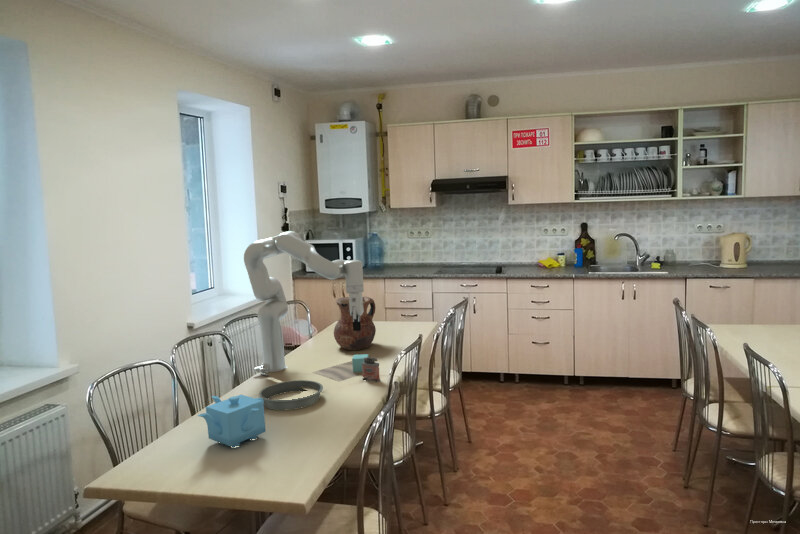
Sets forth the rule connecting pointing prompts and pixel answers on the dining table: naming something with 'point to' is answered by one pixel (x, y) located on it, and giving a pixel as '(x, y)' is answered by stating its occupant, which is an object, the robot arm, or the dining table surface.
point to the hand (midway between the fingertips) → (357, 330)
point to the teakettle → (235, 419)
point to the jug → (345, 326)
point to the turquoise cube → (358, 362)
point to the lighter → (370, 369)
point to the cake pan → (288, 387)
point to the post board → (339, 372)
